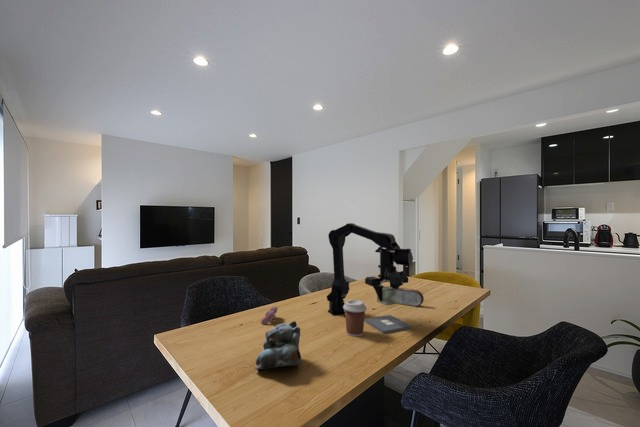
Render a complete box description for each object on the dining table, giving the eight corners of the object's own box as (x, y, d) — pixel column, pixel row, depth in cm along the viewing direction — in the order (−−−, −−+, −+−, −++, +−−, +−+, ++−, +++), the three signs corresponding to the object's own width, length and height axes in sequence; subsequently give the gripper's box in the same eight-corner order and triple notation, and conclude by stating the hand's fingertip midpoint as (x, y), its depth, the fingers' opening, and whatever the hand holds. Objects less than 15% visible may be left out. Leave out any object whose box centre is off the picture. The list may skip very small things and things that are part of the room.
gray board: (383, 333, 107) (383, 330, 107) (364, 321, 120) (364, 318, 120) (411, 328, 113) (411, 325, 113) (390, 317, 125) (390, 314, 125)
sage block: (385, 305, 112) (385, 290, 113) (377, 301, 118) (377, 287, 118) (397, 303, 115) (397, 289, 115) (388, 300, 120) (388, 286, 121)
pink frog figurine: (269, 328, 116) (277, 313, 116) (260, 323, 116) (267, 308, 116) (273, 320, 126) (280, 306, 126) (264, 315, 126) (271, 301, 126)
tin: (423, 306, 141) (423, 290, 141) (422, 308, 138) (422, 291, 138) (394, 302, 149) (394, 286, 149) (393, 303, 146) (393, 287, 146)
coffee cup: (366, 339, 102) (366, 306, 103) (341, 336, 104) (341, 305, 104) (367, 329, 111) (366, 299, 111) (344, 327, 113) (344, 298, 113)
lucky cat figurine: (245, 370, 81) (251, 320, 88) (274, 370, 89) (277, 325, 96) (283, 369, 73) (286, 315, 80) (310, 370, 81) (311, 320, 88)
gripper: (379, 267, 106) (380, 308, 105) (417, 264, 113) (417, 302, 113) (364, 263, 116) (364, 300, 116) (399, 261, 123) (399, 296, 123)
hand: (386, 300), depth 116 cm, fingers closed on sage block, 6 cm apart
